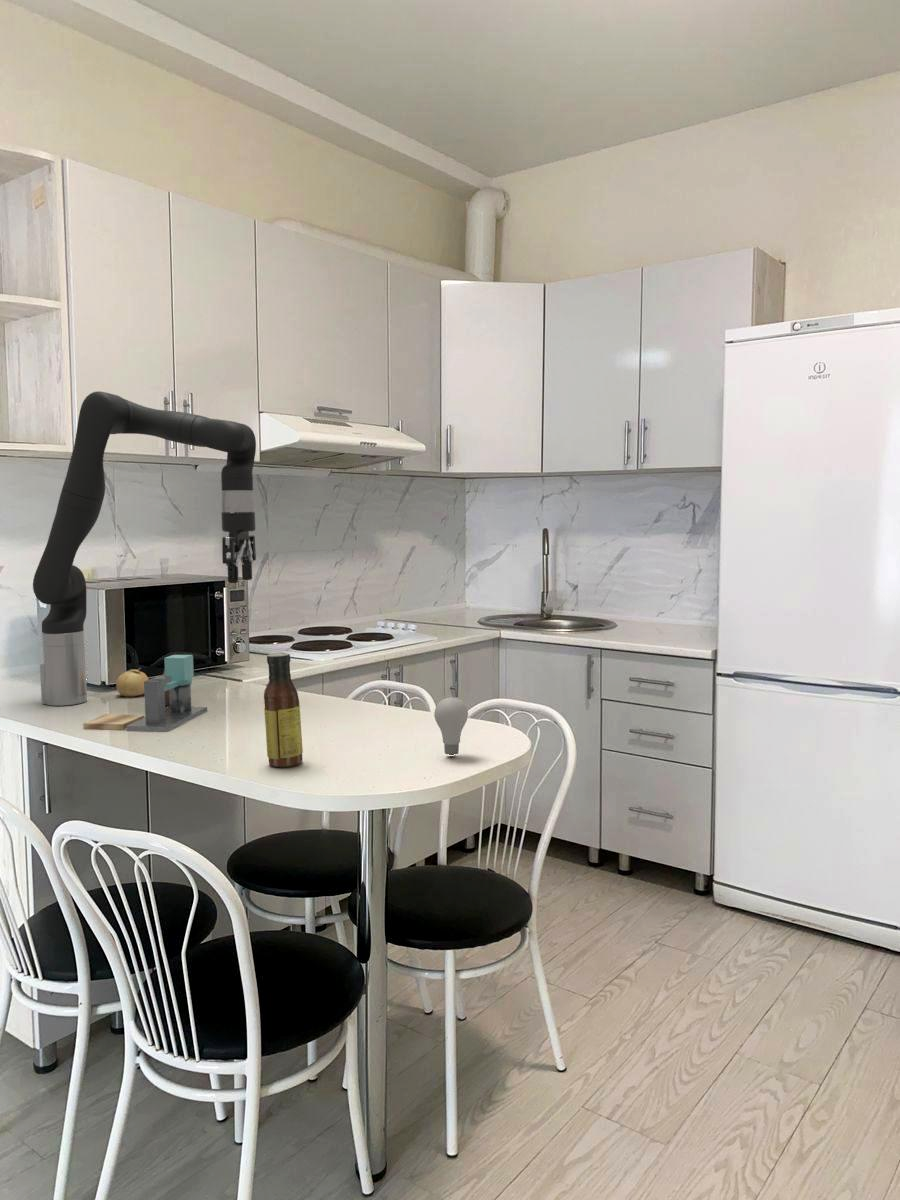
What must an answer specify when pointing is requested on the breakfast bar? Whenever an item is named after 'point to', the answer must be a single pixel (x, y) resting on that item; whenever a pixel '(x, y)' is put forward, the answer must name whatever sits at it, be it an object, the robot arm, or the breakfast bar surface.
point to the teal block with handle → (179, 670)
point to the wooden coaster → (112, 722)
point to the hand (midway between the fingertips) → (240, 581)
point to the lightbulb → (451, 722)
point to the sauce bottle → (282, 714)
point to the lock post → (156, 711)
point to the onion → (131, 683)
